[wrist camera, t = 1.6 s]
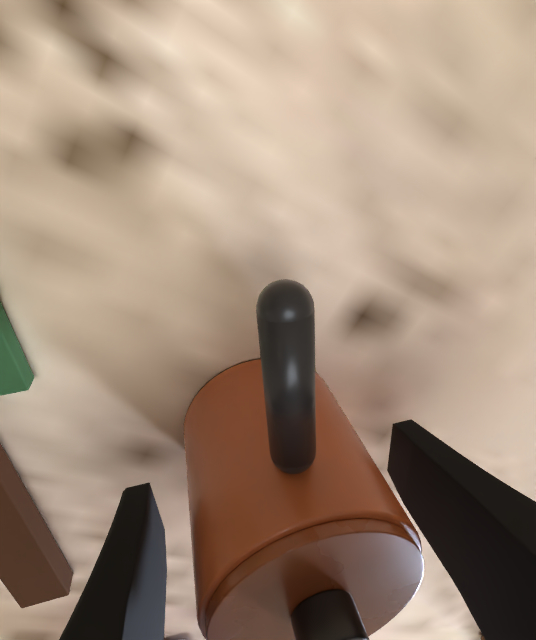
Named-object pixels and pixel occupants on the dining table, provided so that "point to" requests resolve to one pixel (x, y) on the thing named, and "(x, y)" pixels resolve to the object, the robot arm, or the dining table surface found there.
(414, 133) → the dining table surface
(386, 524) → the pot
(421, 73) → the dining table surface
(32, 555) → the spatula
